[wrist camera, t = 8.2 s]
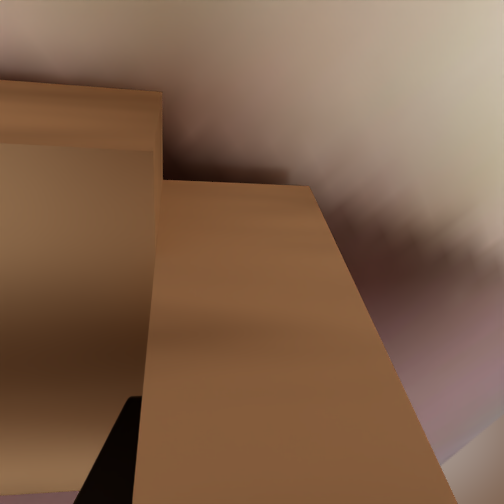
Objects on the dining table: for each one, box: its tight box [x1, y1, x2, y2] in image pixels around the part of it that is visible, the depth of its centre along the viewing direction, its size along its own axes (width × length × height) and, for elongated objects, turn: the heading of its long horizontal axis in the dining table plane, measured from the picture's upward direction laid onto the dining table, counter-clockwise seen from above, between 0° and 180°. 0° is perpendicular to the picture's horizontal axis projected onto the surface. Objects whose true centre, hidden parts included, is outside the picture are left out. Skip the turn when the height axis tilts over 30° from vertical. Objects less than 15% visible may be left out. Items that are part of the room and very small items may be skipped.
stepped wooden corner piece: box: [0, 80, 458, 504], centre depth 8 cm, size 10×8×9 cm
